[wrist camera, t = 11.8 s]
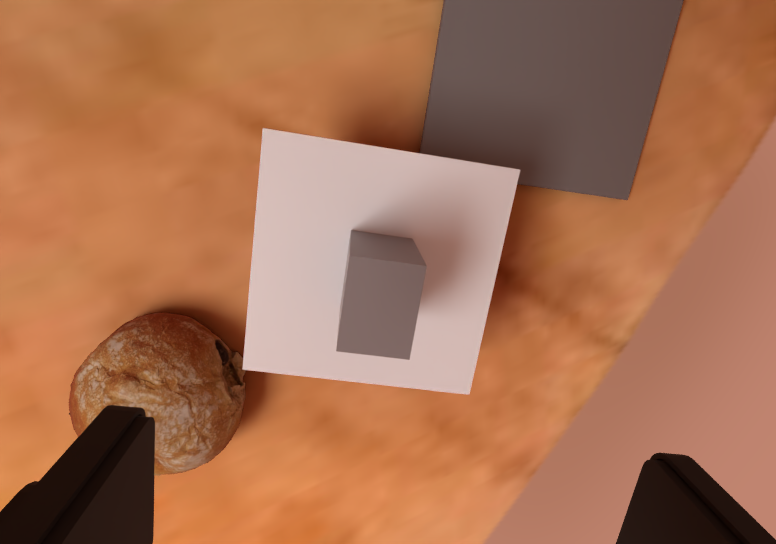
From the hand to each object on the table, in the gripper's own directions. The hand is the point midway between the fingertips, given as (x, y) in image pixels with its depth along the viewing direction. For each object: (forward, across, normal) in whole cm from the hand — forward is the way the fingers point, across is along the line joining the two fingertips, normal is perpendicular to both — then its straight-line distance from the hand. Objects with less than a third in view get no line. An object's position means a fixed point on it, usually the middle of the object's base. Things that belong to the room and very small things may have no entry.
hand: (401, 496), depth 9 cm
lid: (+16, 0, 0) cm, 16 cm away
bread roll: (+22, +12, +11) cm, 27 cm away
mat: (+22, -9, -11) cm, 26 cm away
